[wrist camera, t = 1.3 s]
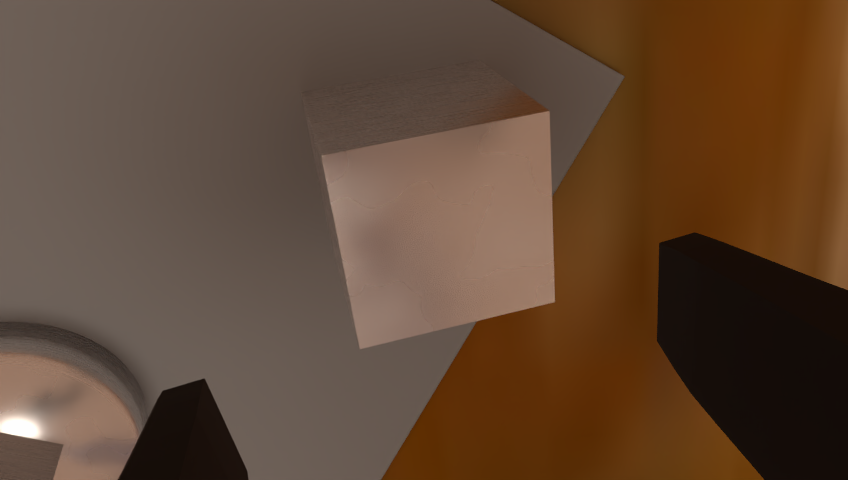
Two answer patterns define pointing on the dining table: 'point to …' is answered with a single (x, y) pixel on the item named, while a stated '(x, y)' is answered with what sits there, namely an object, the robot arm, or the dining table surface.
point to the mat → (234, 200)
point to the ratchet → (64, 406)
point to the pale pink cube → (434, 198)
